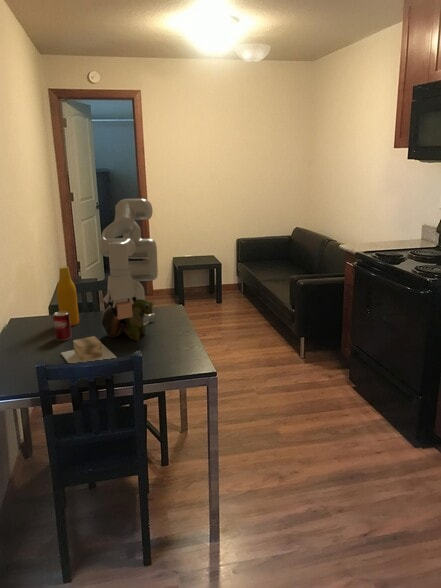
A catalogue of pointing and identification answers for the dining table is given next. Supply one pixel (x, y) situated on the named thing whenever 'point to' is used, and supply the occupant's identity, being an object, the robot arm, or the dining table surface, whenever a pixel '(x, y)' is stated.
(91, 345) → the maple block
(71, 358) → the plate
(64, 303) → the beer bottle
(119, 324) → the brown green figure
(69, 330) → the soda can
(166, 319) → the dining table surface
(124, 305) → the pink cube
